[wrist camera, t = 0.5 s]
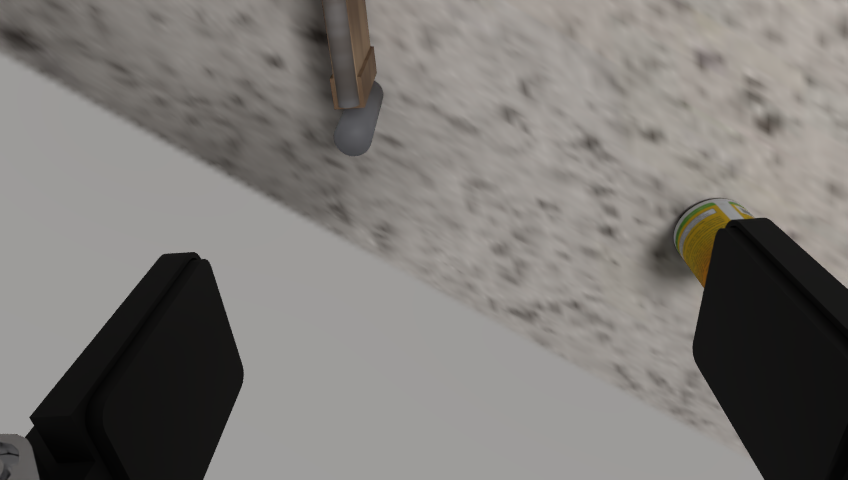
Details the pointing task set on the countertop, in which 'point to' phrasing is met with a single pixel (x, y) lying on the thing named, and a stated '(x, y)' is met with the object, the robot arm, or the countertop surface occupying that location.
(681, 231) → the supplement bottle
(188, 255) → the robot arm
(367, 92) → the gate
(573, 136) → the countertop surface
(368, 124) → the post
